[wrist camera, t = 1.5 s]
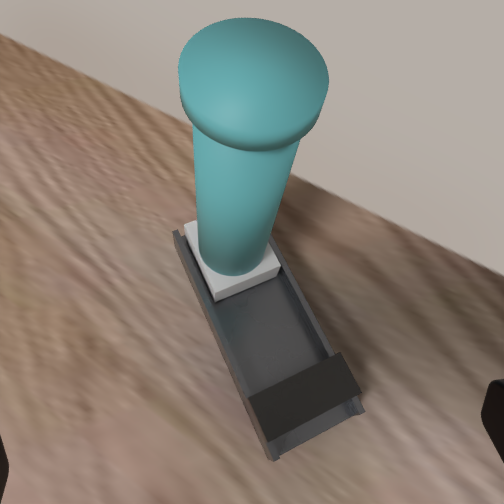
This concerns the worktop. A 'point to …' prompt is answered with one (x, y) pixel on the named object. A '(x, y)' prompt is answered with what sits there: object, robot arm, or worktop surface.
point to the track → (277, 357)
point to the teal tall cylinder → (245, 140)
